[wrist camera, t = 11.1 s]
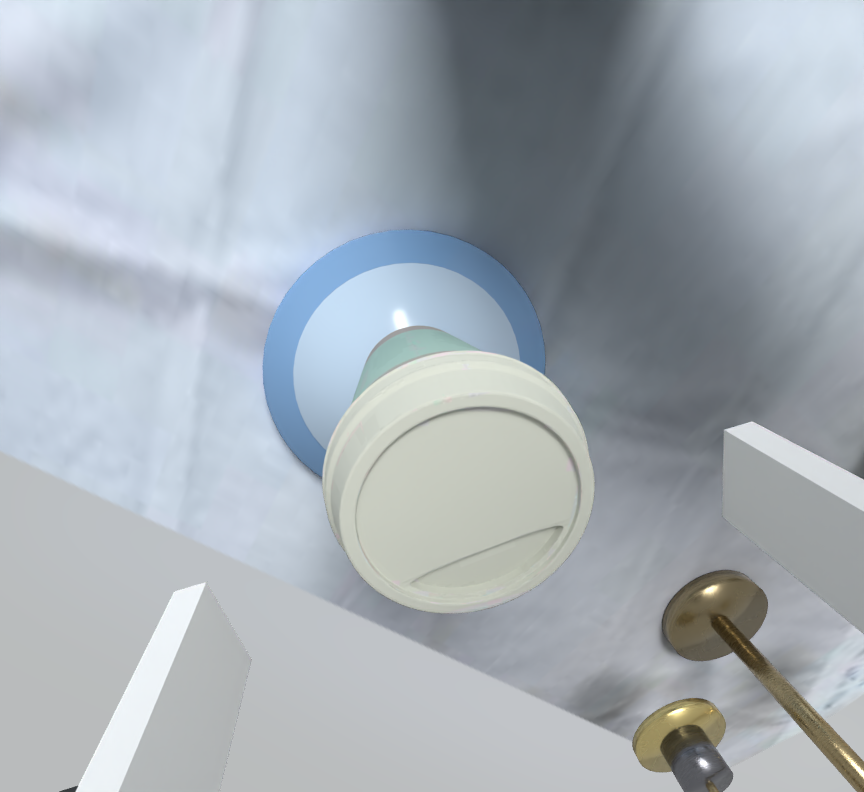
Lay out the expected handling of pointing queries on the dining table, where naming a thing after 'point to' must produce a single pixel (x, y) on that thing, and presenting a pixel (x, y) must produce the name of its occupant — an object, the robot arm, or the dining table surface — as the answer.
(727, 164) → the dining table surface
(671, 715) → the balance
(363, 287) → the dish
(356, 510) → the coffee cup
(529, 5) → the dining table surface
